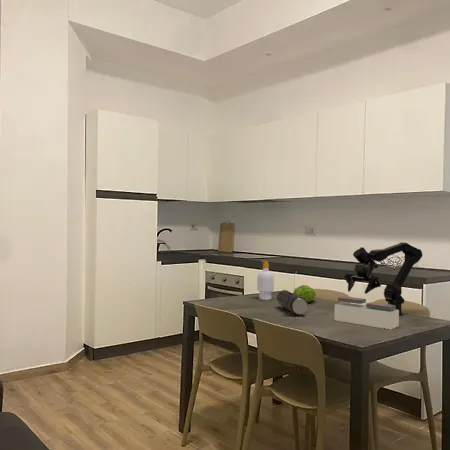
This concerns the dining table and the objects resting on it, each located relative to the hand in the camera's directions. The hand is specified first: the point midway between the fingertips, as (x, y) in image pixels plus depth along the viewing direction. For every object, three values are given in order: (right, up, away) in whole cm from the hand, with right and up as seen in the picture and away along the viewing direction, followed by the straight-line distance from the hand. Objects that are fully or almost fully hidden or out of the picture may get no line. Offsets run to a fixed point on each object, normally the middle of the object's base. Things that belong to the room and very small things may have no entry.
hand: (356, 292), depth 242 cm
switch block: (+2, -14, -9) cm, 17 cm away
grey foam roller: (-30, -14, +18) cm, 38 cm away
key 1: (-4, -4, -4) cm, 7 cm away
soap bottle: (-41, -13, +60) cm, 74 cm away
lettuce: (-17, -14, +55) cm, 59 cm away
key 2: (+7, -6, -14) cm, 17 cm away
